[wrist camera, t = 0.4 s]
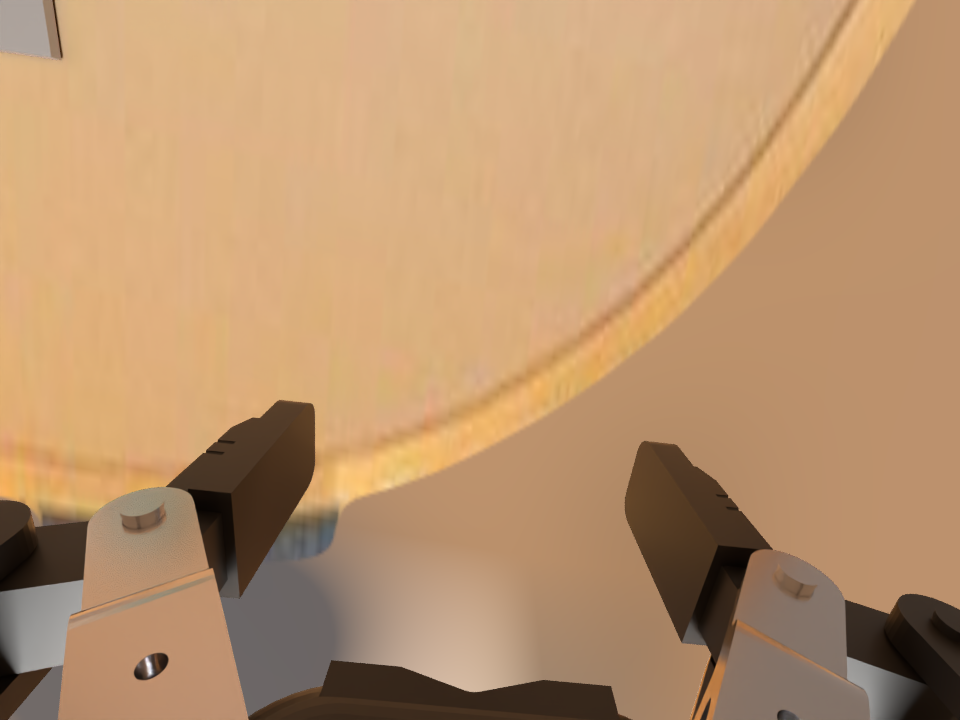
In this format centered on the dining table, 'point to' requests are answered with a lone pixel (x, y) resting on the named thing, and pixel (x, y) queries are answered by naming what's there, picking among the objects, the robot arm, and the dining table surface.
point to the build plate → (29, 28)
